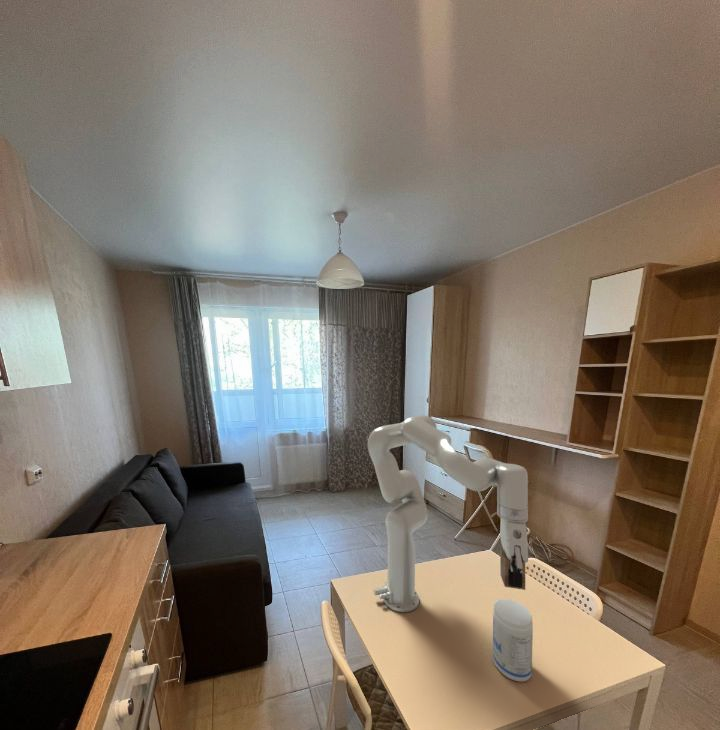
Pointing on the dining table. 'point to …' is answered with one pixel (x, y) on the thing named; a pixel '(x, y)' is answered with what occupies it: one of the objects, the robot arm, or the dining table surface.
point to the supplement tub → (512, 639)
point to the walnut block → (505, 566)
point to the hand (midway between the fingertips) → (512, 578)
